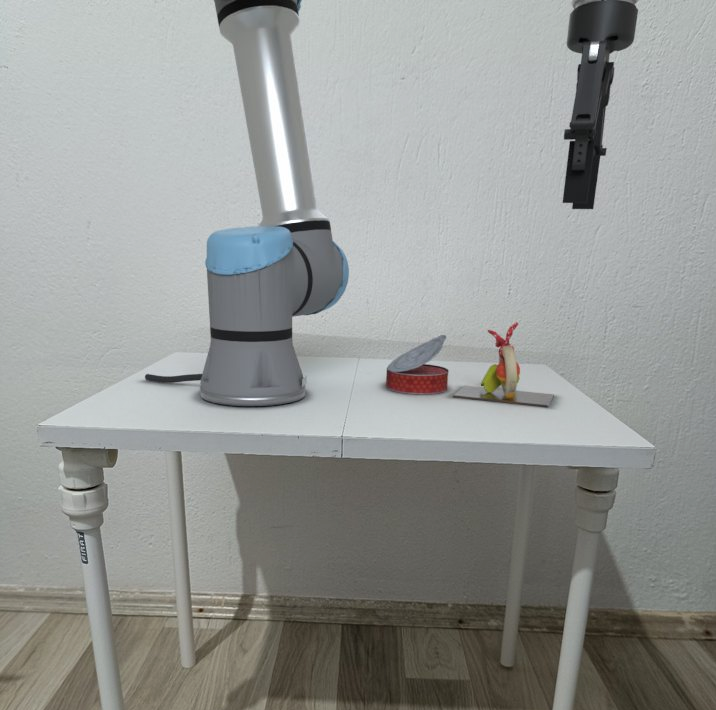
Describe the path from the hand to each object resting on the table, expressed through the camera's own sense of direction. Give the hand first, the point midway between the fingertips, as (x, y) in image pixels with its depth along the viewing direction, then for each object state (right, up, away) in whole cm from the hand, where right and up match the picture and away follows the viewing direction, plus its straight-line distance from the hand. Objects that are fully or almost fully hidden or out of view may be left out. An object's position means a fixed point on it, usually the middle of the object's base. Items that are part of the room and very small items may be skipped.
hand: (578, 206), depth 84 cm
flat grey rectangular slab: (-6, -22, +18) cm, 29 cm away
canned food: (-19, -20, +23) cm, 35 cm away
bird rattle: (-5, -22, +18) cm, 29 cm away
